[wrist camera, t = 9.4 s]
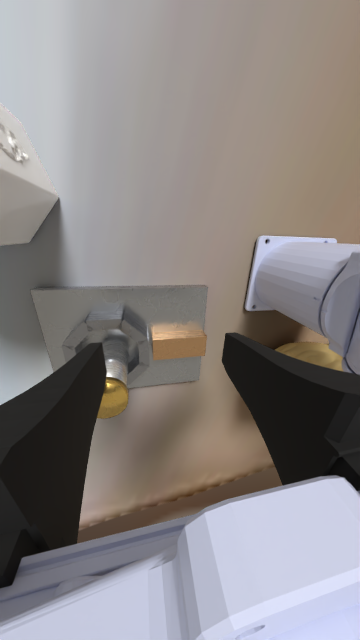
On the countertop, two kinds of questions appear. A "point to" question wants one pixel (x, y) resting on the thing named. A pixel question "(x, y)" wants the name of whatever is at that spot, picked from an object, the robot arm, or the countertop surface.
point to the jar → (21, 184)
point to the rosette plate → (137, 305)
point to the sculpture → (313, 354)
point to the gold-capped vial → (114, 379)
